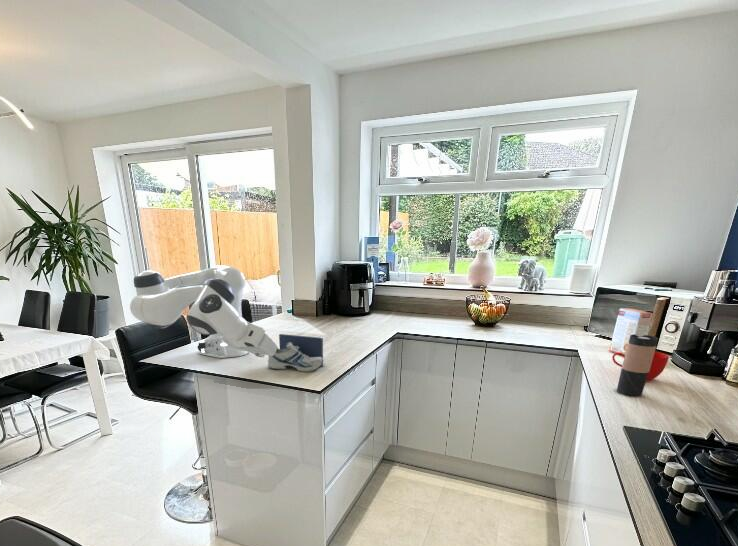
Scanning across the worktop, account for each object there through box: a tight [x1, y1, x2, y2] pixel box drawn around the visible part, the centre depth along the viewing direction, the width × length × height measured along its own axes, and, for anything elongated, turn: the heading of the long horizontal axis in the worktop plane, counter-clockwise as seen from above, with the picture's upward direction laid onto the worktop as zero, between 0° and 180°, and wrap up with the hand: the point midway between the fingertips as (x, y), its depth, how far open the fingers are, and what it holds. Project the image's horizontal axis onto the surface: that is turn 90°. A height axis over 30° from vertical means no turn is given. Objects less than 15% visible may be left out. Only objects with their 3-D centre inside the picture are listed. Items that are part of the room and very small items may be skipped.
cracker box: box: [608, 307, 654, 355], centre depth 182 cm, size 14×6×21 cm, turn 179°
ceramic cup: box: [611, 350, 670, 382], centre depth 152 cm, size 13×17×10 cm
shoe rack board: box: [278, 333, 324, 368], centre depth 167 cm, size 20×1×12 cm, turn 69°
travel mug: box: [616, 334, 659, 398], centre depth 135 cm, size 8×8×20 cm
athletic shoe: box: [267, 342, 324, 373], centre depth 162 cm, size 10×23×12 cm, turn 90°
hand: (261, 355), depth 140 cm, fingers closed
